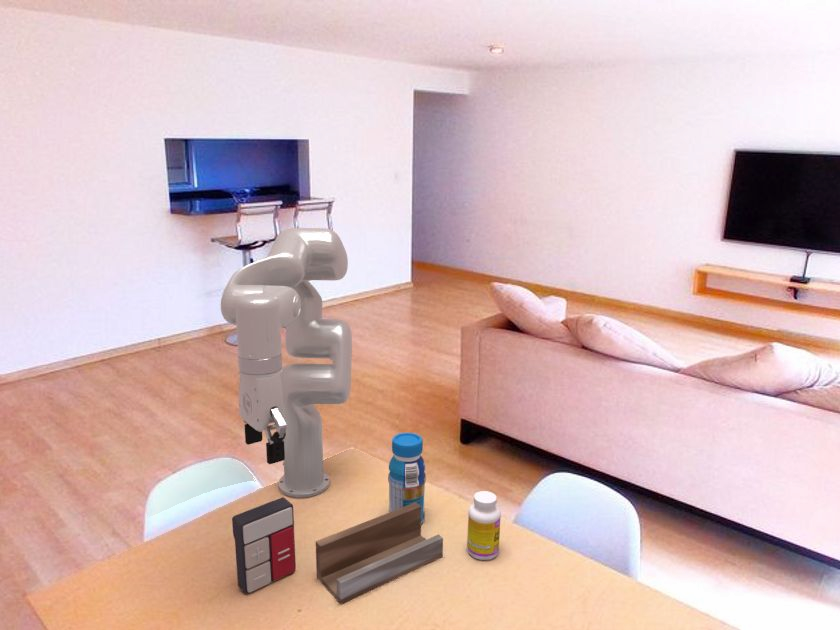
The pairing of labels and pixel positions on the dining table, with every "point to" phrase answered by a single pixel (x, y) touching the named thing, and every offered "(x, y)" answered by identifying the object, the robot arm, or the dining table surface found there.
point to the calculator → (264, 544)
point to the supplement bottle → (483, 526)
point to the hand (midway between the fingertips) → (264, 451)
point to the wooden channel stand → (375, 553)
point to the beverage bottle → (407, 472)
